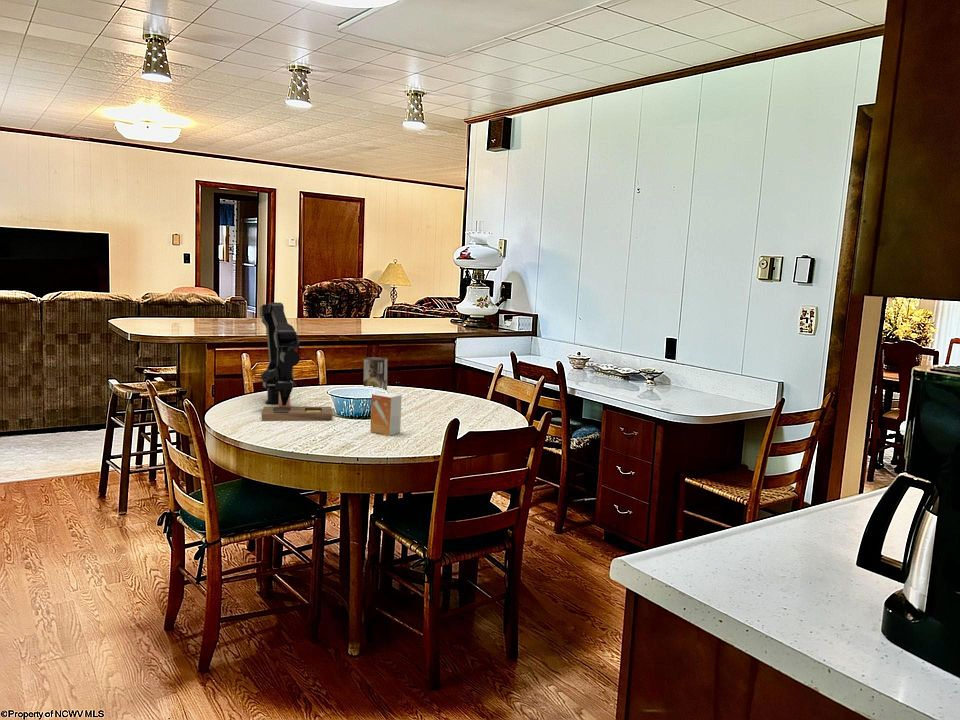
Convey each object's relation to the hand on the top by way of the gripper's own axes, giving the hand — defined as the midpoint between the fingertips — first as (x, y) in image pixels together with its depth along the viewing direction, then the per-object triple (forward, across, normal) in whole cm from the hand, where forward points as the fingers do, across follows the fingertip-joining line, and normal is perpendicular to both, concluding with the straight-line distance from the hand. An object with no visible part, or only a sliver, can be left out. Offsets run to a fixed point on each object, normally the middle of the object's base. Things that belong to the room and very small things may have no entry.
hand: (284, 404), depth 273 cm
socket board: (+2, +11, +5) cm, 12 cm away
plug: (+2, 0, 0) cm, 2 cm away
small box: (+3, +35, +34) cm, 49 cm away
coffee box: (+3, -30, +36) cm, 47 cm away
